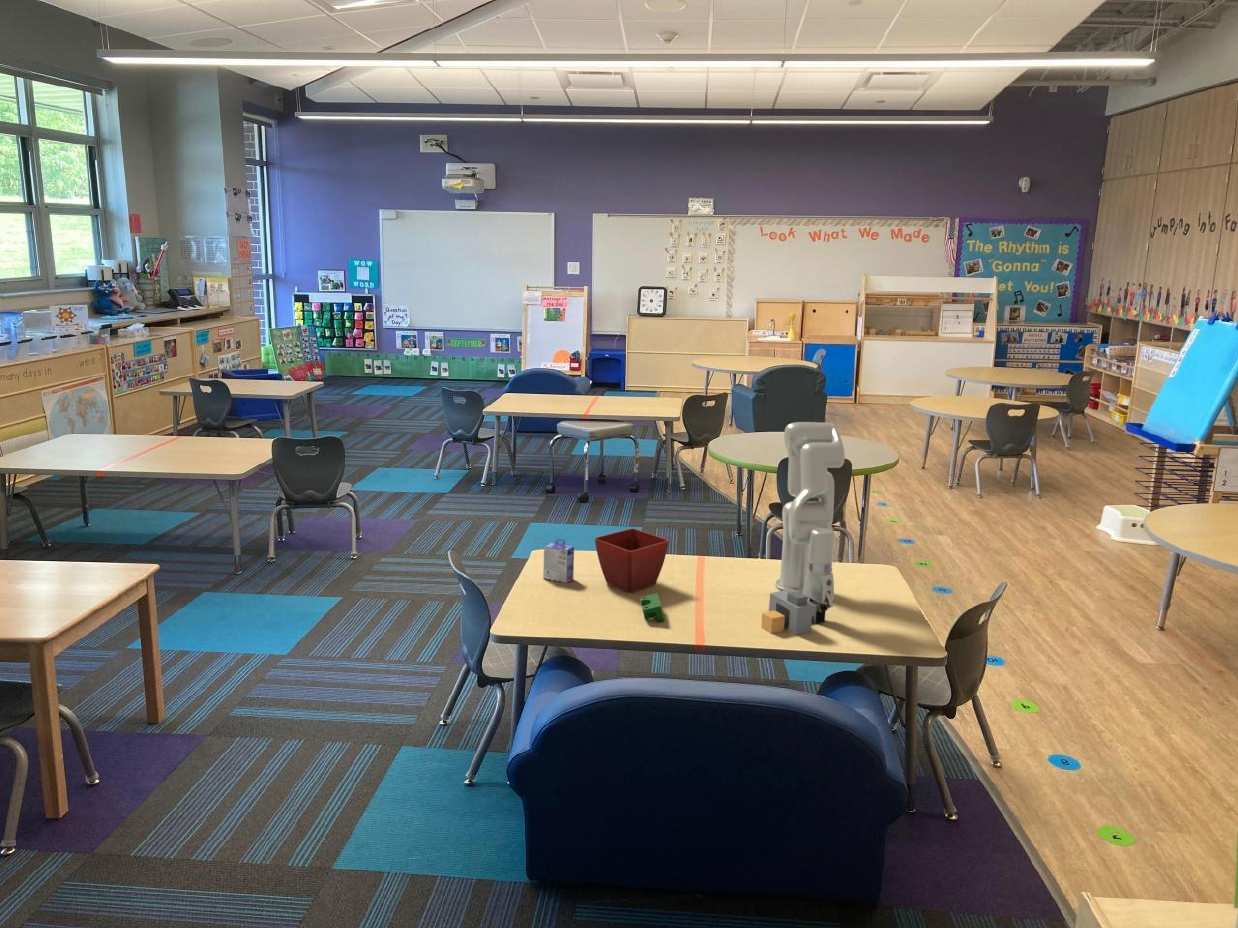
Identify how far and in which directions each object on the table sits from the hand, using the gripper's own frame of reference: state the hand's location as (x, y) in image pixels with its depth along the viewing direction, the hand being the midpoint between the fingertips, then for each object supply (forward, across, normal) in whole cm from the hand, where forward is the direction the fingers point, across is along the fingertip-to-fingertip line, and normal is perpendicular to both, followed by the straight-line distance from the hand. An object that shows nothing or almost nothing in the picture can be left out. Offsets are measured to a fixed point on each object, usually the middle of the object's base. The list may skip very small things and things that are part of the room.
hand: (815, 619), depth 303 cm
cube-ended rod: (0, 0, +9) cm, 9 cm away
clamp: (+1, +25, +47) cm, 53 cm away
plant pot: (+1, +53, +39) cm, 66 cm away
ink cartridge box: (+1, +69, +60) cm, 91 cm away
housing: (0, 0, +11) cm, 11 cm away
